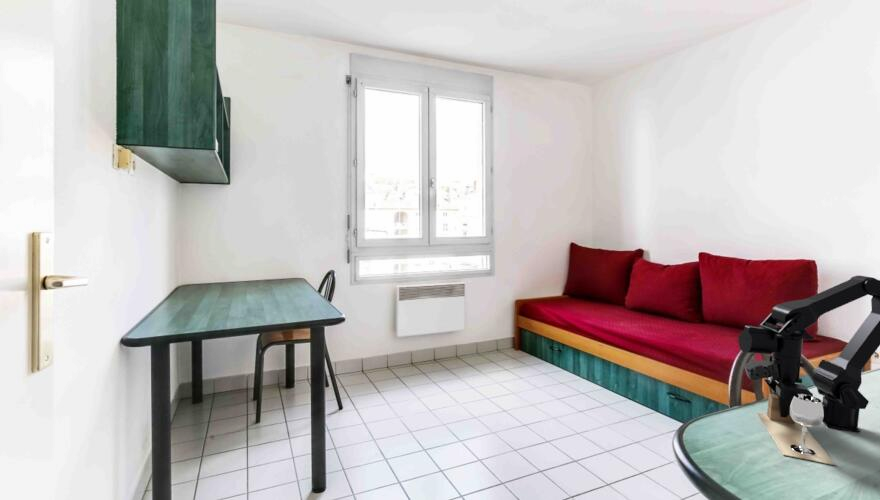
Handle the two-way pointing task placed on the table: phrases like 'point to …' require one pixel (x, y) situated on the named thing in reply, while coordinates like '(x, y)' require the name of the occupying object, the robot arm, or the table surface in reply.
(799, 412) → the wineglass
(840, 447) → the table surface
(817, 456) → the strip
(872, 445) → the table surface
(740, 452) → the table surface
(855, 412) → the robot arm
